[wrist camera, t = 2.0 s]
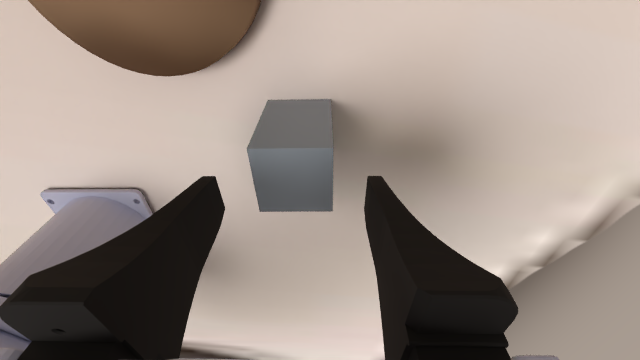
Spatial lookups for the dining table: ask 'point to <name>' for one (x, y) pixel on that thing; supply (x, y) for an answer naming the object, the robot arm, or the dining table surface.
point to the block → (293, 156)
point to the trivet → (153, 30)
